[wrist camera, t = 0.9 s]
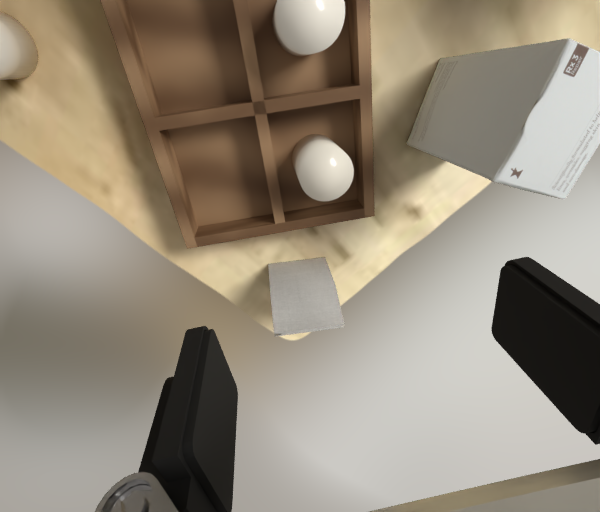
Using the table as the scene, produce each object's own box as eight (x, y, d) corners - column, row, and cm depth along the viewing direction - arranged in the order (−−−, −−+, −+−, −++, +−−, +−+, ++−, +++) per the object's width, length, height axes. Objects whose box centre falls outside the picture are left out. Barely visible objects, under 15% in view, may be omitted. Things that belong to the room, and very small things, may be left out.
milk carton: (268, 263, 39) (272, 319, 30) (325, 257, 39) (344, 309, 31) (271, 289, 41) (276, 348, 32) (325, 282, 41) (344, 339, 33)
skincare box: (451, 157, 35) (565, 208, 22) (401, 143, 34) (491, 188, 21) (493, 70, 31) (658, 71, 19) (438, 50, 30) (576, 35, 17)
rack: (100, -46, 24) (78, -62, 21) (353, -81, 25) (367, -102, 22) (193, 233, 36) (187, 248, 33) (364, 203, 37) (374, 215, 33)
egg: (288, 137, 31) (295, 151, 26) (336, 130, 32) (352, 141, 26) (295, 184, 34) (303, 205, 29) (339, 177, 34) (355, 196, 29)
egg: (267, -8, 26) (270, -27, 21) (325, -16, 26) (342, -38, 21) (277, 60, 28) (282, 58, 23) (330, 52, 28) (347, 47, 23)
